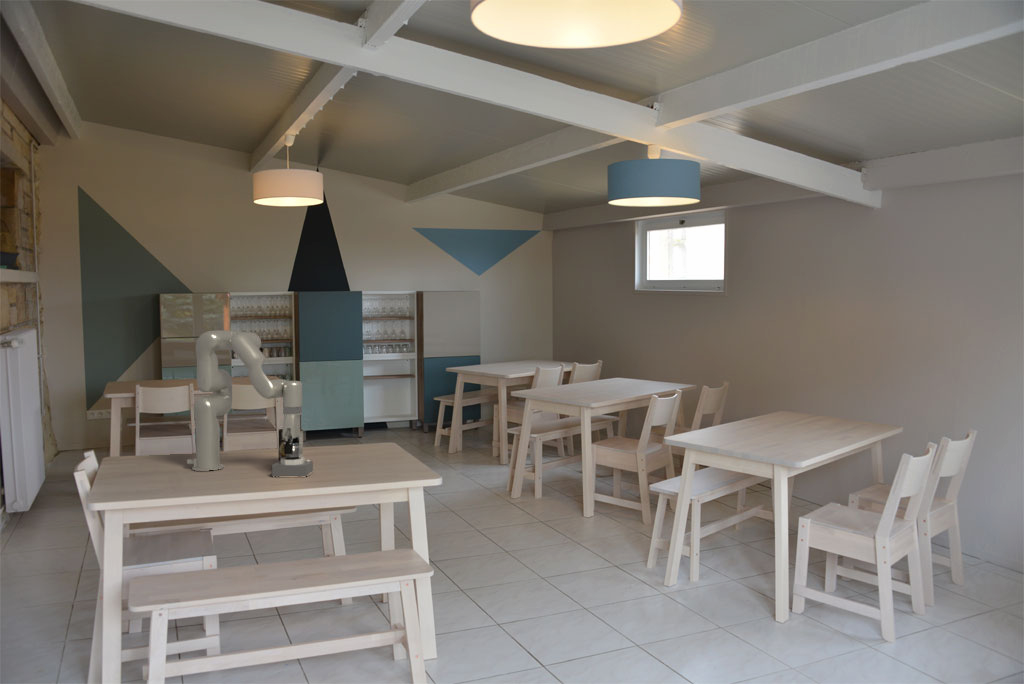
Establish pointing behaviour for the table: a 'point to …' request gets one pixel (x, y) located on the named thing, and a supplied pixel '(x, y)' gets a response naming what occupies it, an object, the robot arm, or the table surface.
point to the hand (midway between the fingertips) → (291, 451)
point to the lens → (294, 452)
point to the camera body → (292, 467)
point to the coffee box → (281, 441)
